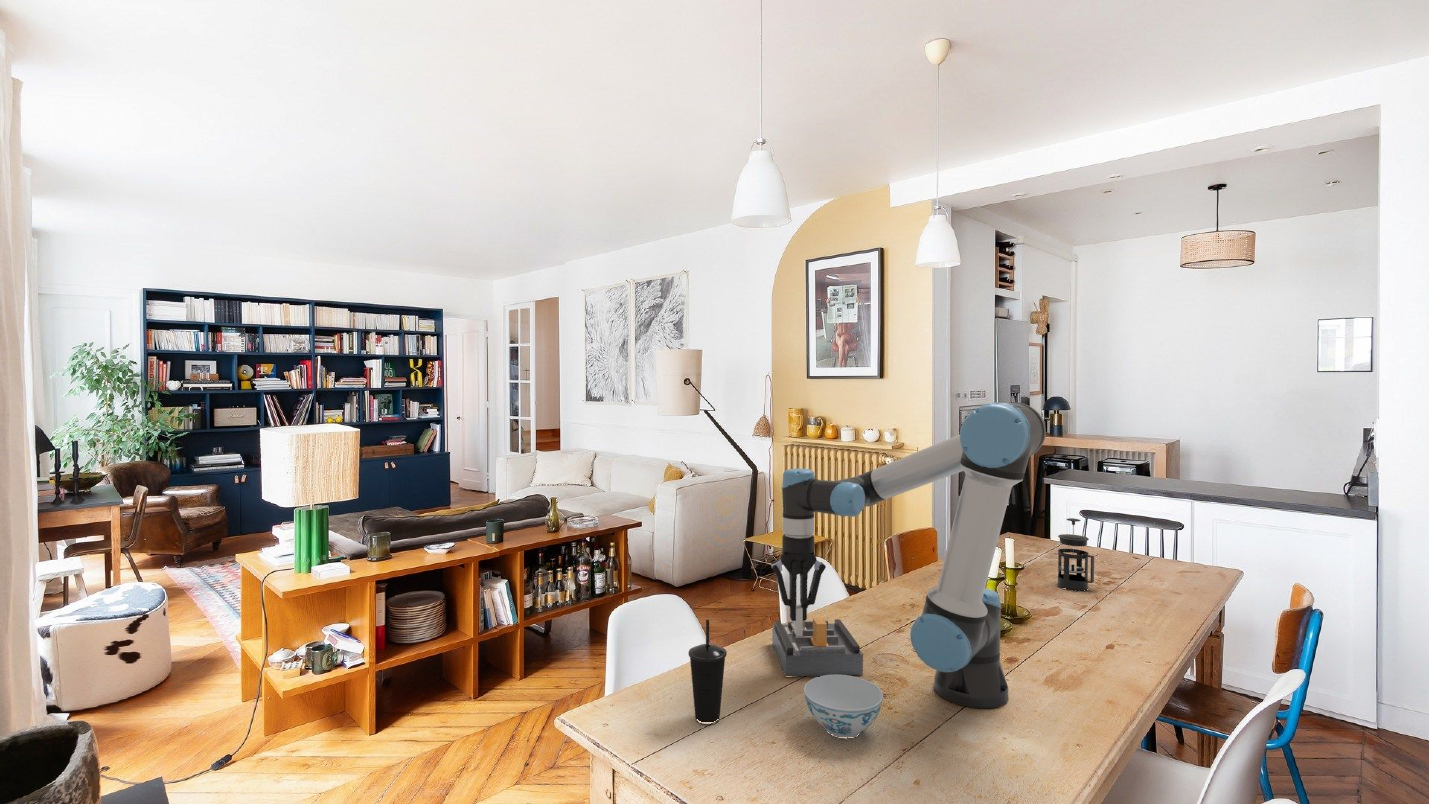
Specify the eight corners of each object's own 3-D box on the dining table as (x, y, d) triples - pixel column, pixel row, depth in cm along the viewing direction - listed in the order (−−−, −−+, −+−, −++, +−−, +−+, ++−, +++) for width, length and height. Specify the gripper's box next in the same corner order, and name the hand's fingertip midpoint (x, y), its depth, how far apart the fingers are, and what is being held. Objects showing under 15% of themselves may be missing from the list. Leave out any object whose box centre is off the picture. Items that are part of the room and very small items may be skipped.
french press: (1049, 585, 223) (1050, 517, 223) (1063, 581, 229) (1064, 514, 228) (1085, 594, 214) (1086, 523, 213) (1099, 589, 219) (1100, 520, 219)
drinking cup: (693, 731, 128) (693, 628, 128) (684, 712, 136) (684, 615, 135) (731, 726, 130) (731, 625, 130) (720, 707, 138) (720, 612, 137)
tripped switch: (828, 649, 156) (828, 624, 155) (815, 649, 155) (815, 624, 155) (823, 641, 160) (824, 617, 160) (810, 641, 160) (811, 617, 160)
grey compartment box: (862, 675, 154) (863, 627, 153) (785, 677, 152) (785, 629, 152) (840, 642, 174) (840, 600, 173) (772, 643, 172) (772, 601, 172)
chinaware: (788, 730, 129) (788, 690, 129) (833, 704, 140) (833, 668, 139) (853, 761, 118) (854, 718, 118) (897, 730, 129) (898, 691, 129)
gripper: (821, 530, 161) (821, 627, 161) (768, 531, 160) (768, 628, 161) (829, 537, 154) (829, 638, 154) (773, 538, 153) (773, 640, 153)
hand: (798, 633), depth 157 cm, fingers closed
